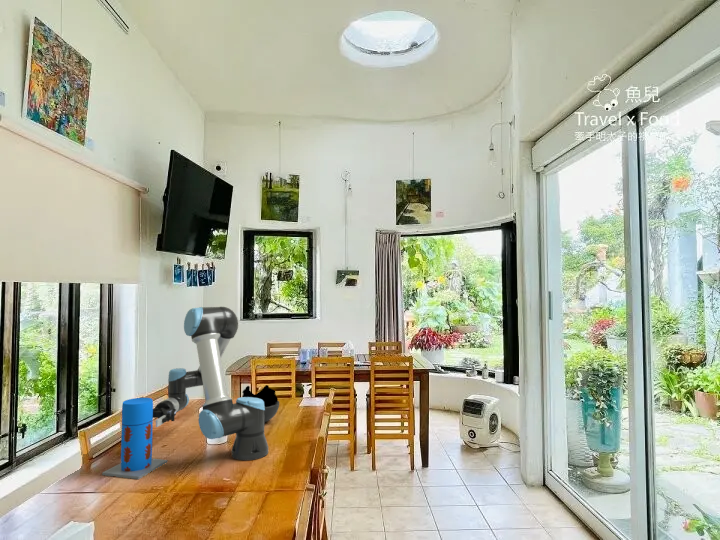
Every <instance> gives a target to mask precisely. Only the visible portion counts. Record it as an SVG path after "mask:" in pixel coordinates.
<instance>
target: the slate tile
mask: <svg viewBox="0 0 720 540" xmlns="http://www.w3.org/2000/svg"><path fill="white" fill-rule="evenodd" d="M167 462H169V461H168V459H162V458H161V459H160V458H152V460H151V465H150V466H149V467H147V468H145V469H142V470H138V471H123V470H122V469H121V462H120V463H118V464H116V465H115V466H112V467H110V468H108V469H106V470H105V471H103V472H102V474H101V476H104V475H105V476H107V477H113V476H116V477H115V478H122V477H123V478H122V479H130V478H131V480H140V479H142V478H144V477H145V476H147V475H148V473H149V474H150V472H151V471H152V472H154V471H156V470H157V469H159V468H160V466H161V467H162V465H163V464H164V465H166V464H168V463H167ZM165 463H166V464H165ZM164 465H163V466H164ZM158 467H159V468H158ZM156 468H157V469H156ZM155 469H156V470H155ZM153 470H154V471H153ZM152 472H151V473H152ZM143 476H144V477H143Z"/></svg>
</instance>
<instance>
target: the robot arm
mask: <svg viewBox="0 0 720 540" xmlns="http://www.w3.org/2000/svg"><path fill="white" fill-rule="evenodd" d="M238 328H239V320H238V317H237V315H236V313H235V312H234V311H233V310H232V309H230V307H225V306H207V307H206V306H205V307H202V306H199V307H193V308H190V309H189V310H188V311H187V312H186V314H185V317H184V320H183V330H184V334H185V335H186V336H188V337H190V338H191V341H192V343H194V344H195V345H196V349H197V351H196V352H197V357H198V363H199V366H198V369H197V370H192V371H190V370H189V371H187V369H186V368H183V367H182V368H180V367H178V368H173V369H170V370H169V372H168V377H167V378H168V380H167V382H168V392H167V393H168V396H167V398H166V399H164V400H162V401H160V402H157V404H156V405H155V406H154V407H153V419H155V428H158V427H161V426H162V425H163V424H165V423H166V422H167V423H168V422H170V421H171V422H174V421H175V416H176V415H177V413H178V412H180V411H182V410H184V409H185V408H186V407H187V406H188V405H189V402H190V398H189V396H188V394H187V393H186V392H187V391H186V390H187V389H190V388H195V387H201V386H202V387H203V393H204V398H205V402H204V403H203V404H202V410H201V411H200V412H199V413H198V425H199V429H200V431H201V433H202V434H203V436H204V437H205V438H206V439H209V440H214V439H221V438H223V437H228V436H231V435H234V434H235V438H234V442H233V445H232V448H231V458H232V459H235V460H237V461H252V460H258V459H261V458H263V457H266V456H267V455H268V453H269V444H268V441H267V438H266V436H265V422H264V410H265V407H264V401H263V400H262V399H259V398H253V397H242V396H241V397H237V398H236V400H235V403H234V402H233V398H231V396H228V392H227V387H226V380H225V375H224V368H223V363H222V357H223V355H224V353H225V351H226V350H227V347H228V345H229V343H230V341H231V339H234V338H235V336H236V334H237V332H238V330H239V329H238Z"/></svg>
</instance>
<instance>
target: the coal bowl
mask: <svg viewBox="0 0 720 540" xmlns="http://www.w3.org/2000/svg"><path fill="white" fill-rule="evenodd" d="M250 388H251V387H250V386H249V385H246V386H245V388H244V389H243V390H242V396H241V397H253V398H259V399H262V400H263V401H264V407H265V410H264V423H266V422H269V421H270V420H271V419H273V418H274V417H275V415H276V414H277V412H278V410H279V407H280V401H279V400H278V396H277V394H276V391H275V390H274V389H273V388H271V387H269V385H267V384H266V385H264V386H263V387H262V388H261V390H259V392H257V393H255V394H254V393H253V392H252V391H251V389H250Z"/></svg>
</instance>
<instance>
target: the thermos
mask: <svg viewBox="0 0 720 540" xmlns="http://www.w3.org/2000/svg"><path fill="white" fill-rule="evenodd" d="M153 401H154V400H153V398H152V397H134V398H129V399H126V400H124V401H122V405H121V437H120V438H121V441H120V443H121V445H120V463H121V469H122V470H123V471H138V470H142V469H145V468H147V467H149V466H150V465H151V460H152V459H153V457H152V456H153V425H154V422H153V420H154V418H153V408H154V402H153Z"/></svg>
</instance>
